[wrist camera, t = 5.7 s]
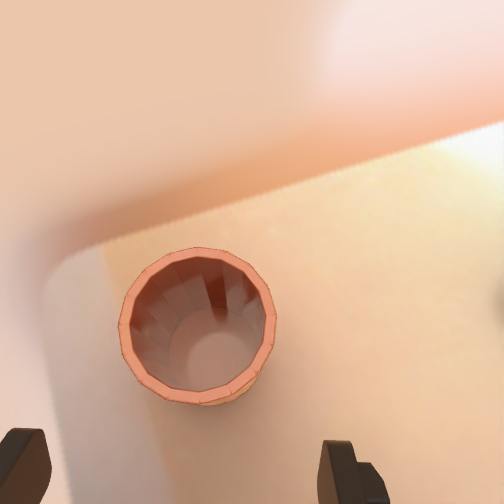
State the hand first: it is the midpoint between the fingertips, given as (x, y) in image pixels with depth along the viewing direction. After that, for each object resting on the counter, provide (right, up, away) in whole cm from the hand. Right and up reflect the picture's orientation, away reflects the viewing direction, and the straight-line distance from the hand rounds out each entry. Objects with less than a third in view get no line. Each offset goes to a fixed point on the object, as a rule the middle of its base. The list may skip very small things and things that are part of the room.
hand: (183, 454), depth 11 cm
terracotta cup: (0, 0, +10) cm, 10 cm away
